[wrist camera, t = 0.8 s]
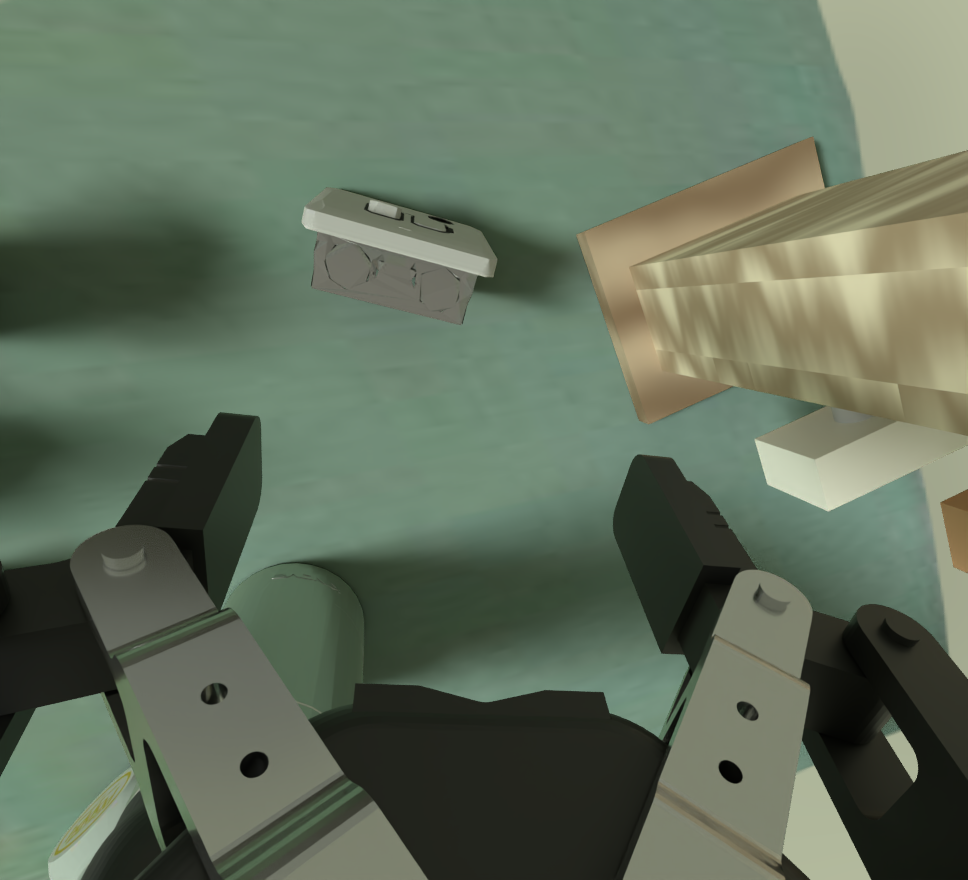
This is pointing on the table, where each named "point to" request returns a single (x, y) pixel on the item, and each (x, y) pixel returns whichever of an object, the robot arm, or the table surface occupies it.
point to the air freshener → (90, 830)
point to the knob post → (795, 289)
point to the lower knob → (847, 454)
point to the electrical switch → (395, 255)
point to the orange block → (957, 528)
